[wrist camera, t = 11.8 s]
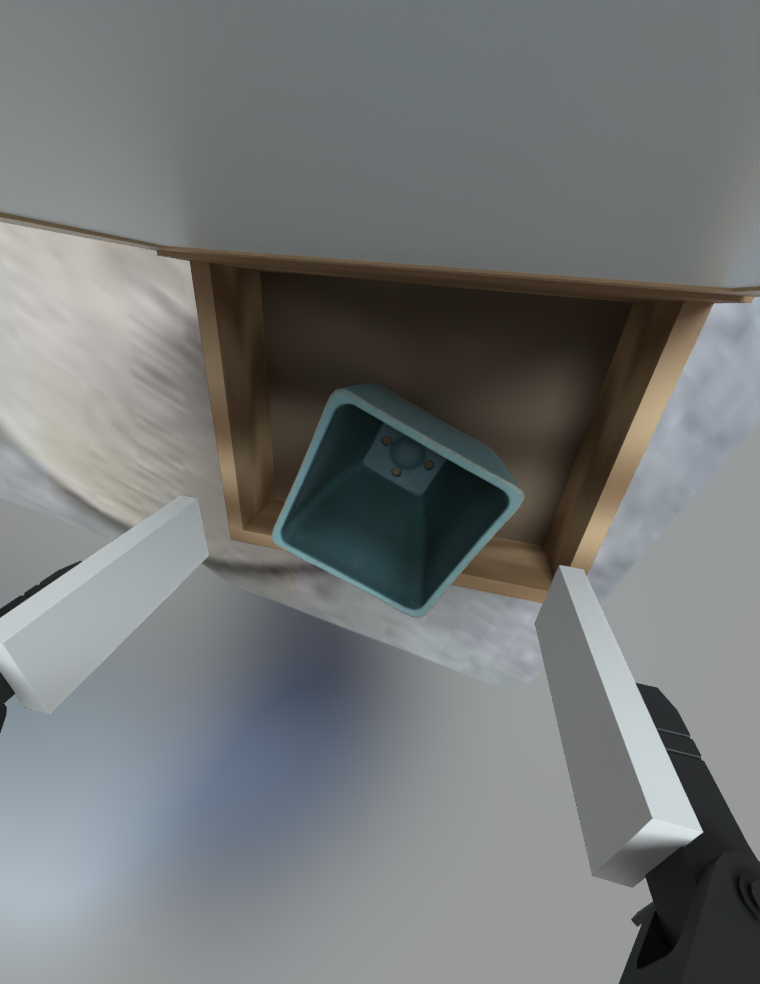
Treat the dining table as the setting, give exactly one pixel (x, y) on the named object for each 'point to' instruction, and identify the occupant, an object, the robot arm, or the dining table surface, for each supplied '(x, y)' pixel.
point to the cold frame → (447, 386)
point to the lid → (396, 133)
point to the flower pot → (394, 498)
